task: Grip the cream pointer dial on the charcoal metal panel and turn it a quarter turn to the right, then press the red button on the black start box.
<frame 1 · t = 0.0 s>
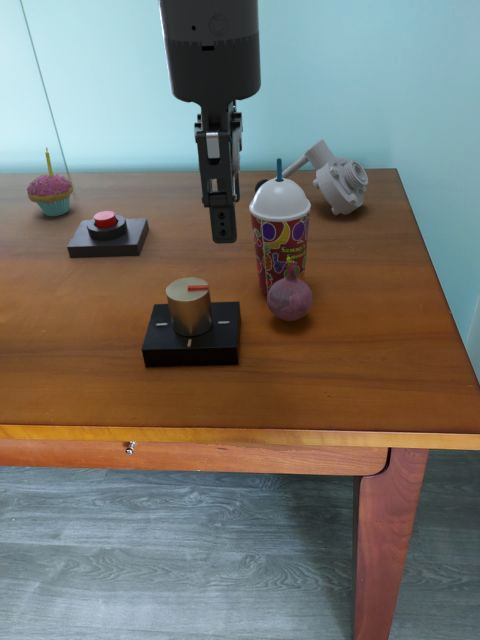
hand: (227, 220, 51), 21 cm above the table, tool pointing down, fingers open, 8 cm apart
valve: (308, 207, 103), on the table
vegetable: (290, 322, 74), on the table
start button: (105, 220, 91), point 4 cm above the table, slide at 0.1 cm
smoothie: (281, 291, 80), on the table
cupcake: (57, 212, 105), on the table
start box: (111, 243, 94), on the table
dial panel: (195, 341, 71), on the table
pointer knob: (190, 305, 68), point 6 cm above the table, hinge at 0.0°
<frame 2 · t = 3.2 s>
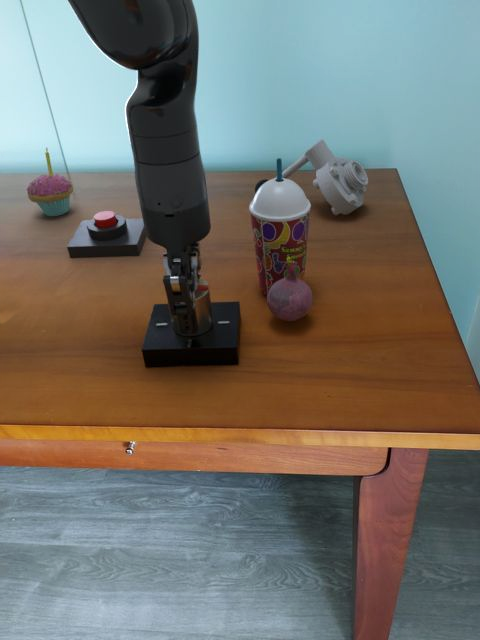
hand: (192, 317, 69), 4 cm above the table, tool pointing down, fingers closed on pointer knob, 5 cm apart
pointer knob: (190, 305, 68), point 6 cm above the table, hinge at 0.2°, touching gripper
everything else where it was.
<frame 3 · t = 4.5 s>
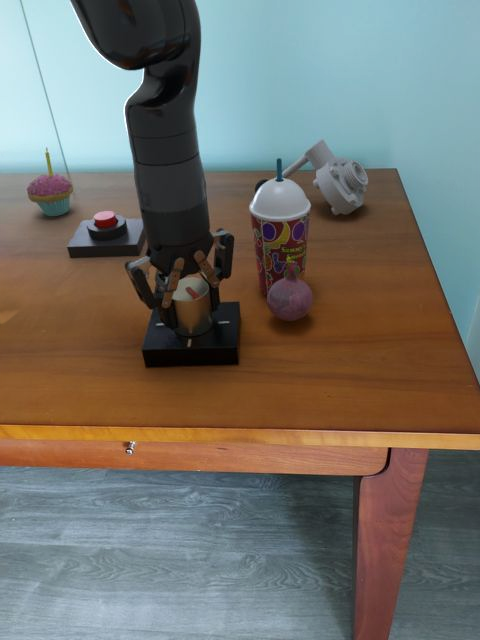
hand: (191, 317, 69), 4 cm above the table, tool pointing down, fingers closed on pointer knob, 5 cm apart
pointer knob: (190, 305, 68), point 6 cm above the table, hinge at -55.9°, touching gripper
everything else where it was.
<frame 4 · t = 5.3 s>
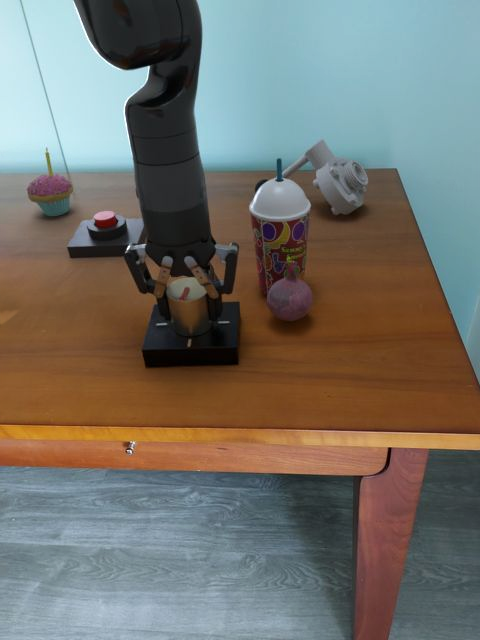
hand: (192, 316, 69), 4 cm above the table, tool pointing down, fingers closed on pointer knob, 5 cm apart
pointer knob: (190, 305, 68), point 6 cm above the table, hinge at -98.4°, touching gripper
everything else where it was.
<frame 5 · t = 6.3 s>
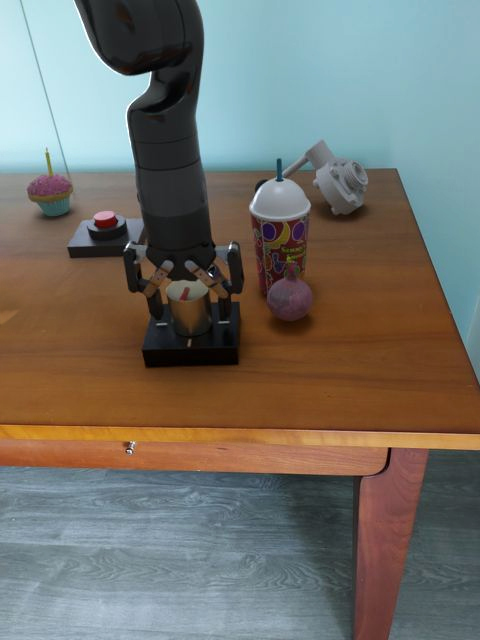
hand: (191, 317, 69), 4 cm above the table, tool pointing down, fingers open, 8 cm apart
pointer knob: (190, 305, 68), point 6 cm above the table, hinge at -98.3°
everything else where it was.
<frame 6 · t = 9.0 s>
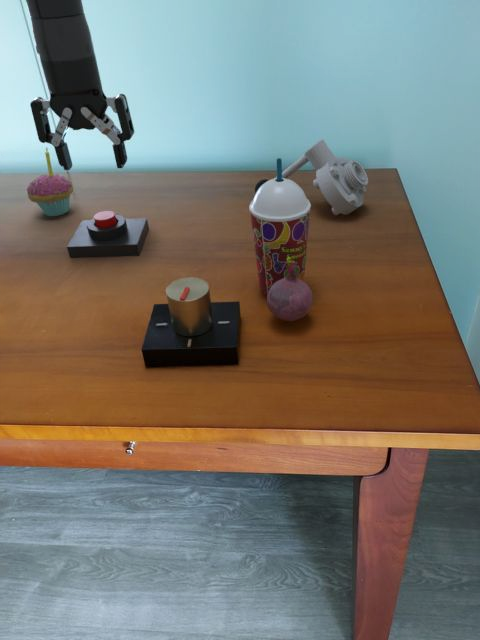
hand: (94, 167, 84), 14 cm above the table, tool pointing down, fingers open, 8 cm apart
nothing on the table moved.
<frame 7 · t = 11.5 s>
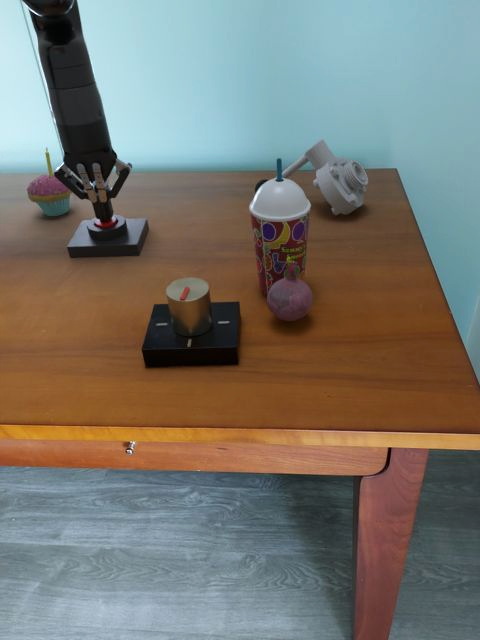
hand: (105, 220, 91), 4 cm above the table, tool pointing down, fingers closed
start button: (106, 225, 92), point 3 cm above the table, slide at -0.9 cm, touching gripper
everything else where it was.
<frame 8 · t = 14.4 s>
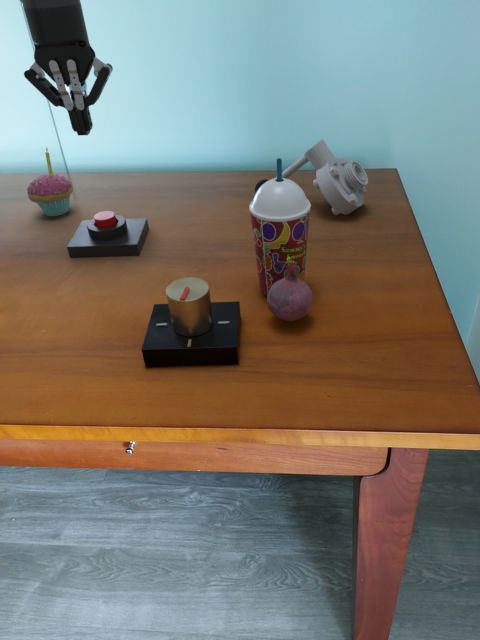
hand: (84, 133, 82), 19 cm above the table, tool pointing down, fingers closed
start button: (105, 220, 91), point 4 cm above the table, slide at 0.1 cm
everything else where it was.
at the end: pointer knob at -98° (first picture: +0°); start button pushed in 1.1 cm at the most during the clip, back to where it started at the end; start button slide at 0.1 cm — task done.
